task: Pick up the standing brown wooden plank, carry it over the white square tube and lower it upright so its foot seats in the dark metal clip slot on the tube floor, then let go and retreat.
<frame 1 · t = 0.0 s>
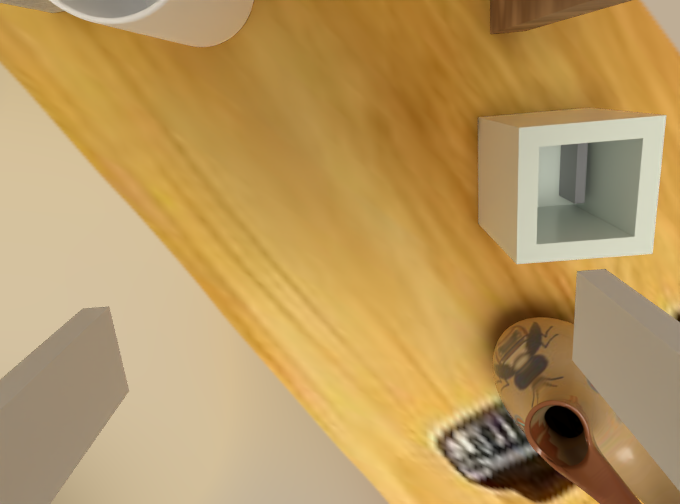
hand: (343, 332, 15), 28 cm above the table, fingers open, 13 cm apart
brown wooden plank: (508, 2, 38), on the table
ceramic vessel: (538, 348, 46), on the table
white square tube: (532, 167, 41), on the table
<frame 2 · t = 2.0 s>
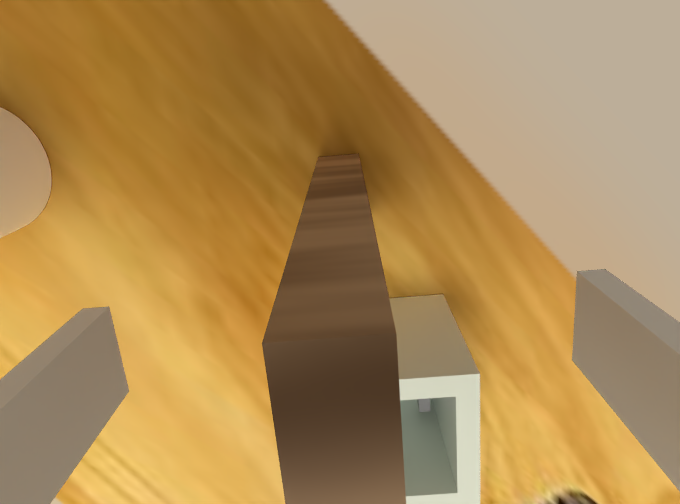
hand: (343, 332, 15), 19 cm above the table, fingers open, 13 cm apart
brown wooden plank: (341, 187, 33), on the table
white square tube: (384, 354, 37), on the table
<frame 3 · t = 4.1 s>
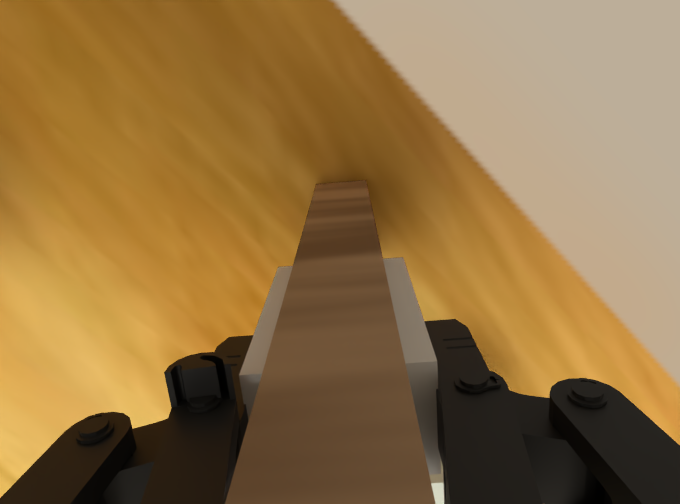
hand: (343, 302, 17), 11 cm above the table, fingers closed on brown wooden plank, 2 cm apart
brown wooden plank: (344, 220, 27), on the table, touching gripper
white square tube: (395, 418, 31), on the table
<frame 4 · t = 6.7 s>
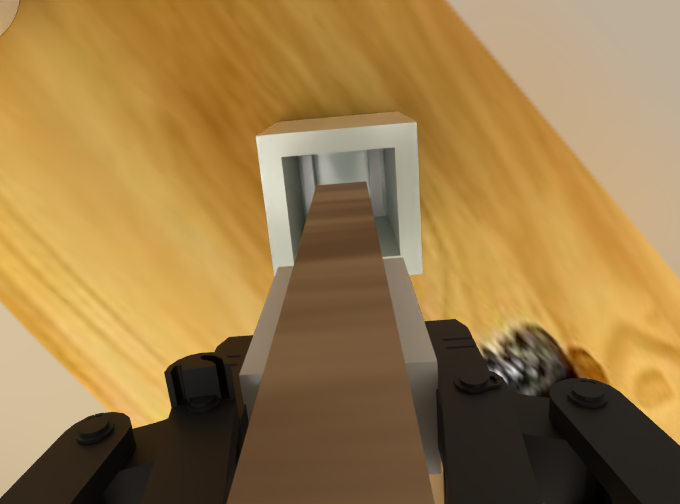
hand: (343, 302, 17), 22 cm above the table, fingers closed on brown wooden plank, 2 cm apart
brown wooden plank: (344, 221, 27), point 12 cm above the table, touching gripper
ceramic vessel: (371, 367, 43), on the table
white square tube: (342, 175, 38), on the table
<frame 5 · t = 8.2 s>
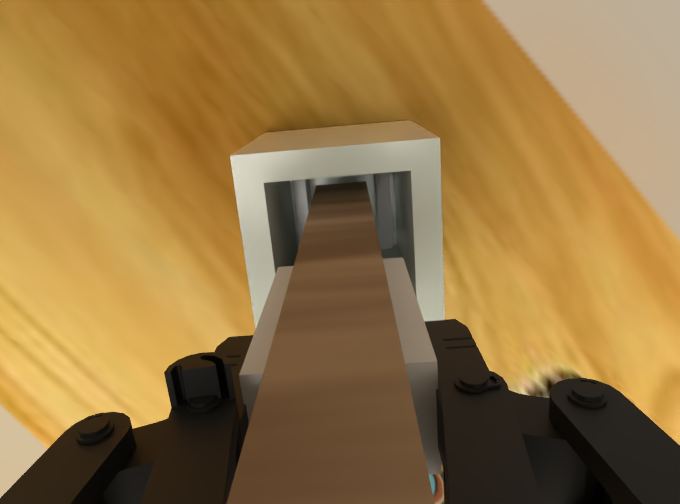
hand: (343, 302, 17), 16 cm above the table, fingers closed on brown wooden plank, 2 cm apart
brown wooden plank: (344, 221, 27), point 5 cm above the table, touching gripper
ceramic vessel: (376, 420, 37), on the table
white square tube: (343, 197, 32), on the table
when the fingers open (13 cm above the table, at t = 9.4 s): brown wooden plank drops 2 cm, resting on white square tube.
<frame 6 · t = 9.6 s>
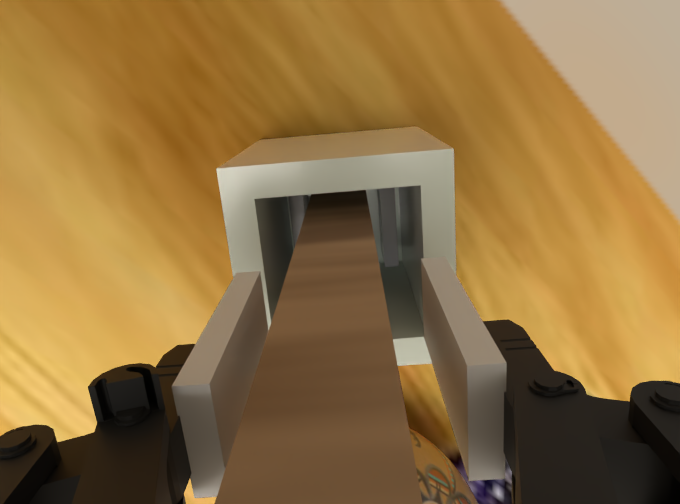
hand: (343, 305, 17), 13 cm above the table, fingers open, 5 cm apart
brown wooden plank: (342, 213, 29), point 1 cm above the table, touching white square tube
ceramic vessel: (379, 446, 34), on the table
white square tube: (344, 209, 29), on the table
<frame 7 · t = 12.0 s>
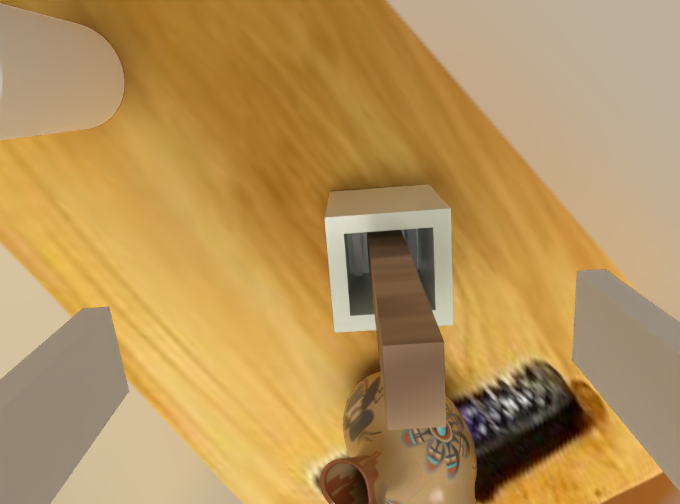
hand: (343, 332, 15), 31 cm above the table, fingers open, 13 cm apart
brown wooden plank: (381, 238, 45), point 1 cm above the table, touching white square tube
ceramic vessel: (401, 395, 51), on the table
cup: (75, 77, 43), on the table
white square tube: (382, 235, 46), on the table
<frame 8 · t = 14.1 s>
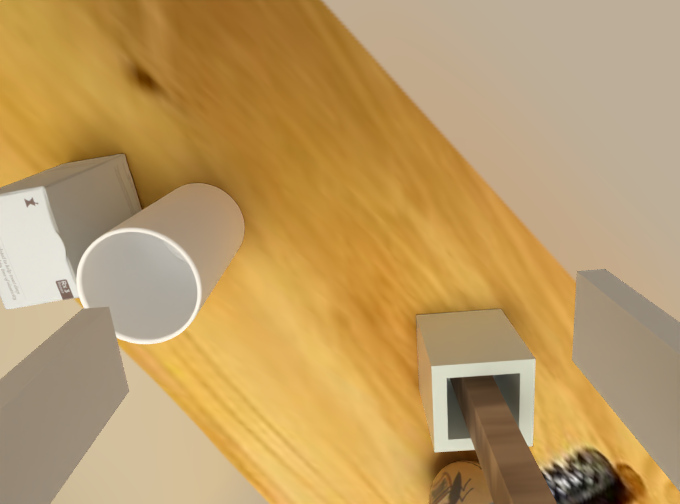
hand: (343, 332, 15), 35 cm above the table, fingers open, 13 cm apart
brown wooden plank: (459, 353, 53), point 1 cm above the table, touching white square tube
ceramic vessel: (469, 476, 59), on the table
cup: (201, 225, 50), on the table
white square tube: (458, 349, 54), on the table
skincare box: (112, 201, 50), on the table
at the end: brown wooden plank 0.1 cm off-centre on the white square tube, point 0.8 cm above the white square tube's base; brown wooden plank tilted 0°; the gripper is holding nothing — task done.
